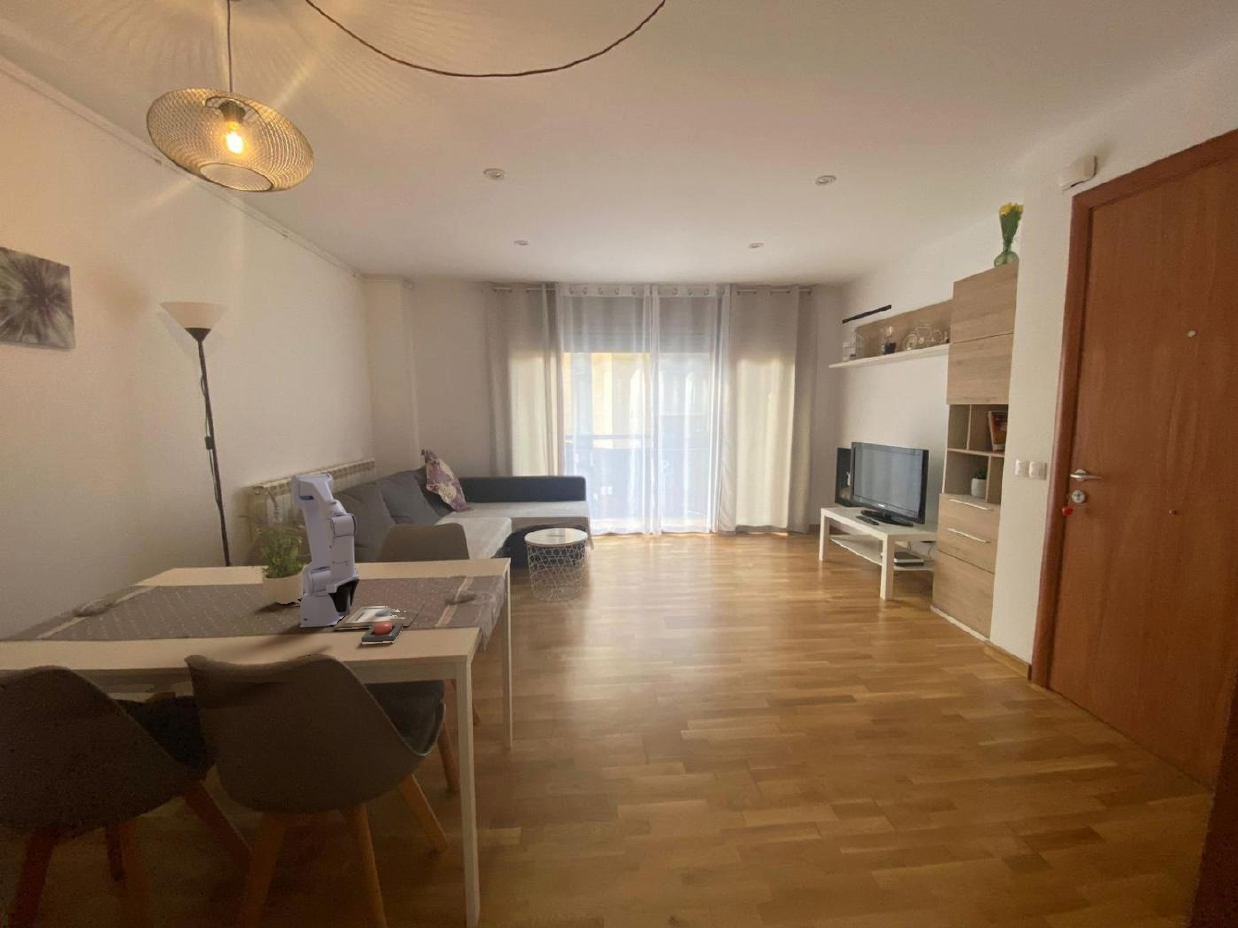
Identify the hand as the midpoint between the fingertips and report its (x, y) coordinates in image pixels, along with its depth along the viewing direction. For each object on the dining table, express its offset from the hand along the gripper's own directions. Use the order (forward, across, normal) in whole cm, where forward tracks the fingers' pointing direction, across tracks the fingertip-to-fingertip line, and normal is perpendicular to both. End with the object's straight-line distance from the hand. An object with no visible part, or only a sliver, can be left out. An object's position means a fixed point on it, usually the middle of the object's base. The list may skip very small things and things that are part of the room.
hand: (344, 609), depth 124 cm
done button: (+6, -1, -10) cm, 12 cm away
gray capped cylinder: (+1, 0, 0) cm, 1 cm away
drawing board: (+8, +13, -5) cm, 16 cm away
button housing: (+8, -1, -10) cm, 13 cm away
